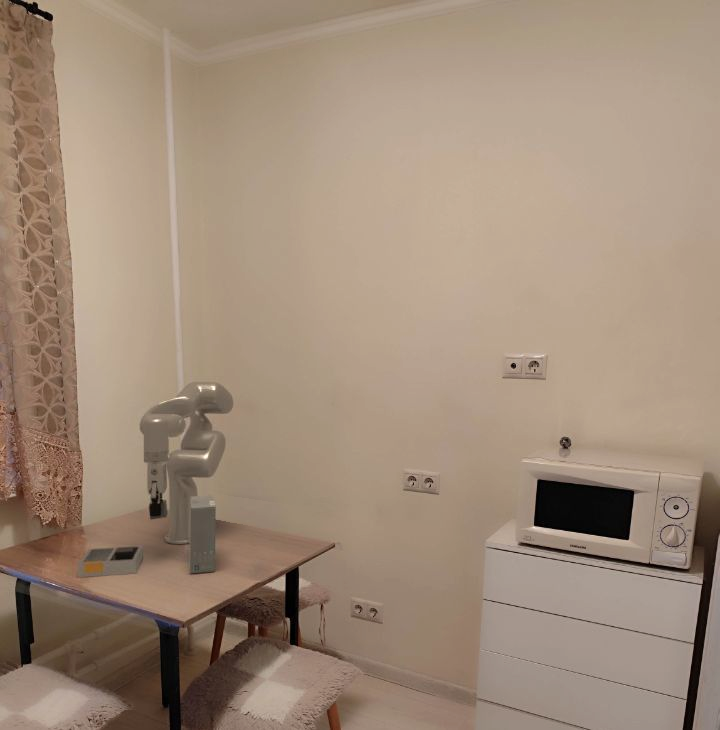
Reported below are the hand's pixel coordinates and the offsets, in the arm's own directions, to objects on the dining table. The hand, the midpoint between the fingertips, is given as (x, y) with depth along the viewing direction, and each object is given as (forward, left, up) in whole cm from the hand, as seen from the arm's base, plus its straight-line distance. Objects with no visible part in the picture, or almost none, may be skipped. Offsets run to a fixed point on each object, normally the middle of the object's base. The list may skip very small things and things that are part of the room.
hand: (156, 513), depth 183 cm
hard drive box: (-14, +6, -15) cm, 22 cm away
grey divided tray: (+13, +3, -15) cm, 20 cm away
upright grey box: (-1, 0, -1) cm, 1 cm away
